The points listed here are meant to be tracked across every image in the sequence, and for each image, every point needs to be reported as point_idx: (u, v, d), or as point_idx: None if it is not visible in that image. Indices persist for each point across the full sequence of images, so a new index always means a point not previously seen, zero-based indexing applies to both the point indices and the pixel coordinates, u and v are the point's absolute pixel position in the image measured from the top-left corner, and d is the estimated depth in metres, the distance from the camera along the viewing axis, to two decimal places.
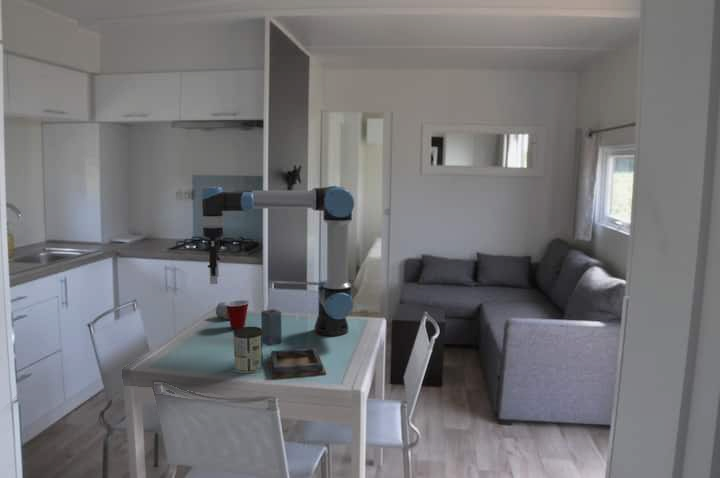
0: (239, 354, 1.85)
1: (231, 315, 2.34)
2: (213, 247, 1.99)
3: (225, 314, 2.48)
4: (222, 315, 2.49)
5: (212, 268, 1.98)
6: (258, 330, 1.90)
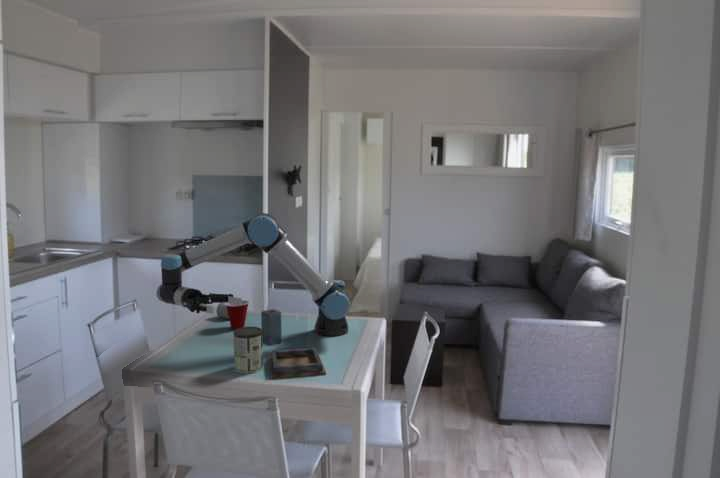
0: (239, 354, 1.85)
1: (231, 315, 2.34)
2: (186, 303, 1.94)
3: (226, 314, 2.48)
4: (223, 315, 2.49)
5: (198, 309, 1.89)
6: (258, 330, 1.90)
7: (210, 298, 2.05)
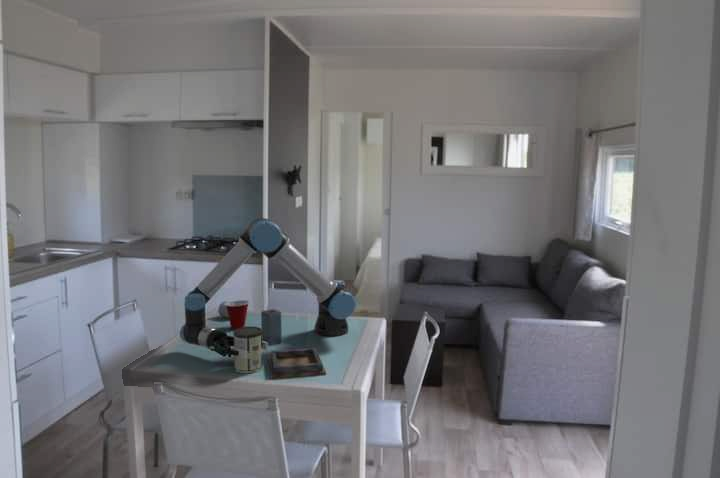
0: None
1: (231, 315, 2.34)
2: (214, 347, 1.90)
3: None
4: (225, 314, 2.50)
5: (230, 353, 1.85)
6: (258, 330, 1.90)
7: None
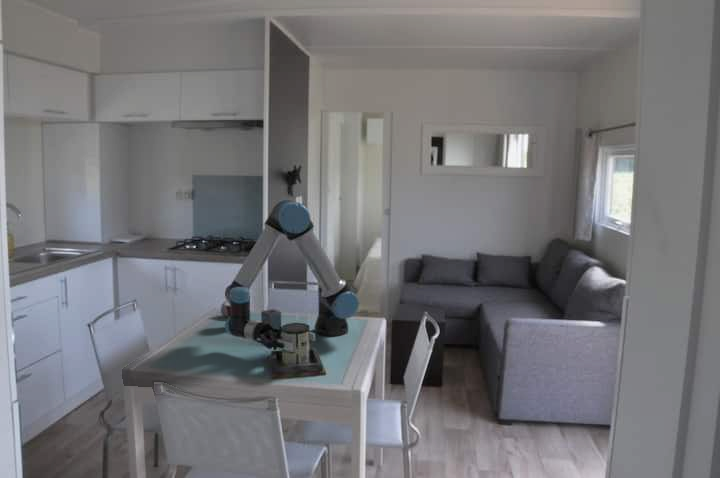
0: (288, 350, 1.87)
1: None
2: (260, 339, 1.91)
3: None
4: (227, 314, 2.52)
5: (275, 345, 1.86)
6: (305, 326, 1.92)
7: (280, 332, 2.02)
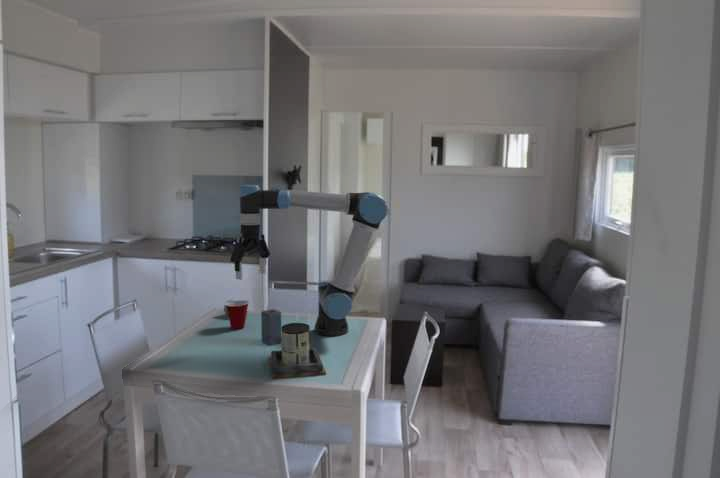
0: (288, 350, 1.87)
1: (231, 315, 2.34)
2: (238, 243, 2.04)
3: None
4: None
5: (235, 264, 2.04)
6: (305, 326, 1.92)
7: None
